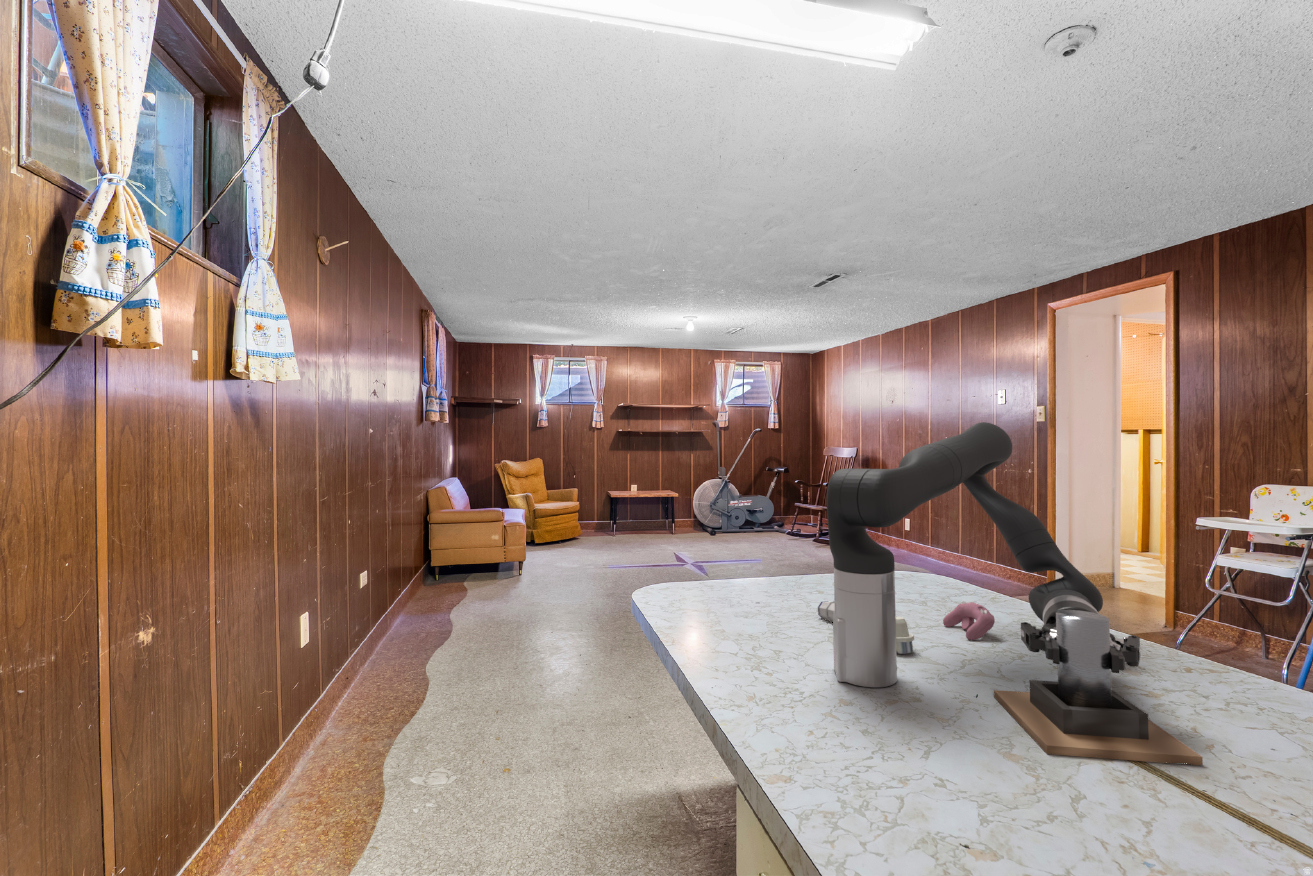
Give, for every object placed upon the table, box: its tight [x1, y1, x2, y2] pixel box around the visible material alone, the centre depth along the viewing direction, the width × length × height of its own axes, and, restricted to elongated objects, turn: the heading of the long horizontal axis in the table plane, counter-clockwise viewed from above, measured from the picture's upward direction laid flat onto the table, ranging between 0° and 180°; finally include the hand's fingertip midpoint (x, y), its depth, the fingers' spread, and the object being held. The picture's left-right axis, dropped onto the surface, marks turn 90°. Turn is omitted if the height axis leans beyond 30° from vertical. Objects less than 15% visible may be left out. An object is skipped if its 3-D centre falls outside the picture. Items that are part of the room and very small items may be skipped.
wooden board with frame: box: [993, 679, 1204, 766], centre depth 75 cm, size 16×16×4 cm
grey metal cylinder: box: [1056, 610, 1112, 709], centre depth 75 cm, size 6×6×12 cm
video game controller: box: [942, 600, 996, 641], centre depth 113 cm, size 10×5×7 cm, turn 1°
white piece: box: [817, 600, 915, 654], centre depth 113 cm, size 5×7×25 cm
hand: (1085, 660), depth 73 cm, fingers closed on grey metal cylinder, 5 cm apart
